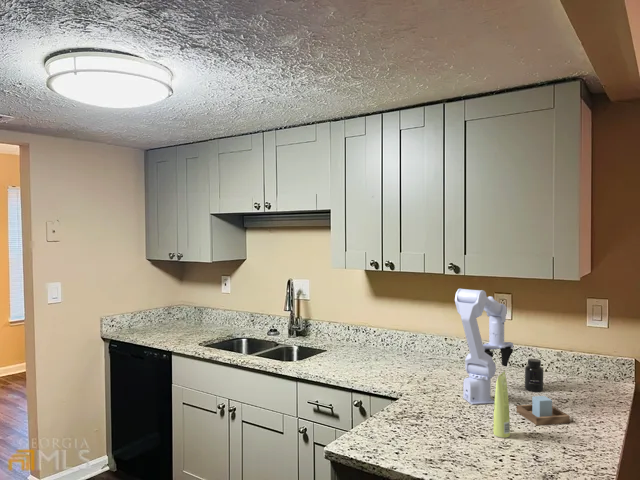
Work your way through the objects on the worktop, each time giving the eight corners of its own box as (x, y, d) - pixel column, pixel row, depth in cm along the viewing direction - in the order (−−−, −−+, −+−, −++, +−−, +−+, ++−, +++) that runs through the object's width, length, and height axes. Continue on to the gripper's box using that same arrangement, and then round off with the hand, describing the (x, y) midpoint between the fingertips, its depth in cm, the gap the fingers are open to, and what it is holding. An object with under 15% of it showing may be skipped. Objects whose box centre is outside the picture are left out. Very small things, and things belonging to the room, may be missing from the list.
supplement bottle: (532, 393, 192) (532, 362, 192) (521, 387, 198) (521, 358, 198) (547, 391, 194) (547, 361, 193) (535, 386, 200) (535, 357, 200)
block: (539, 418, 165) (539, 400, 165) (532, 413, 169) (532, 396, 169) (552, 417, 165) (552, 400, 165) (544, 412, 170) (544, 395, 170)
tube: (489, 431, 156) (489, 370, 156) (504, 430, 156) (504, 370, 156) (497, 438, 150) (497, 376, 150) (513, 438, 151) (513, 375, 150)
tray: (536, 425, 160) (536, 418, 160) (516, 411, 172) (516, 405, 172) (569, 422, 162) (569, 416, 162) (547, 409, 174) (547, 403, 174)
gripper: (487, 336, 189) (487, 371, 189) (518, 333, 194) (518, 367, 194) (476, 332, 196) (476, 366, 196) (506, 330, 200) (506, 363, 201)
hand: (496, 366), depth 196 cm, fingers open, 7 cm apart
